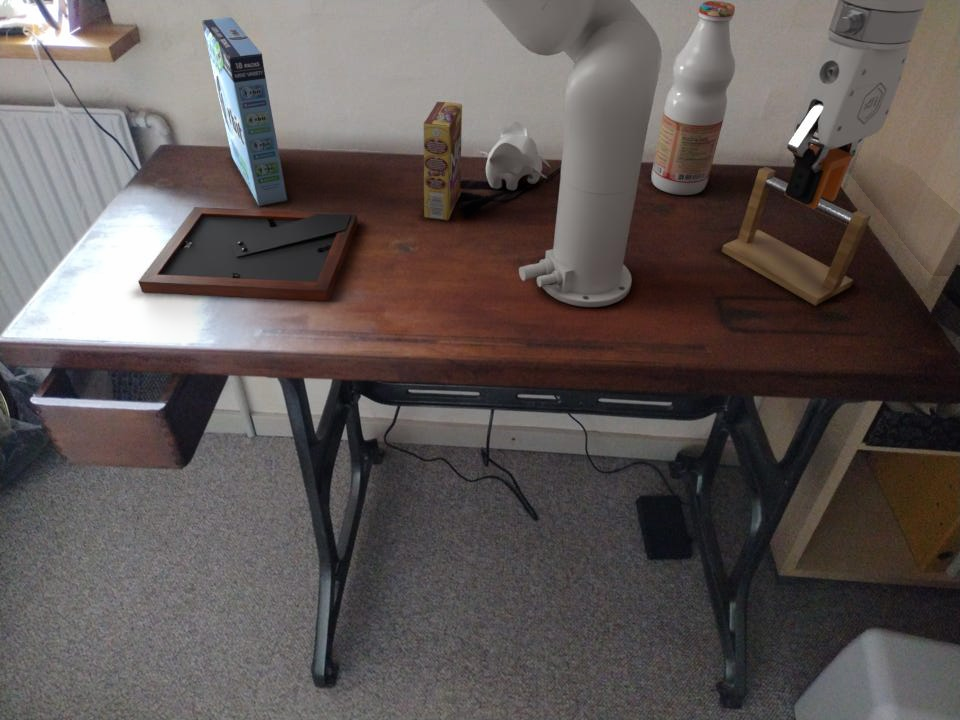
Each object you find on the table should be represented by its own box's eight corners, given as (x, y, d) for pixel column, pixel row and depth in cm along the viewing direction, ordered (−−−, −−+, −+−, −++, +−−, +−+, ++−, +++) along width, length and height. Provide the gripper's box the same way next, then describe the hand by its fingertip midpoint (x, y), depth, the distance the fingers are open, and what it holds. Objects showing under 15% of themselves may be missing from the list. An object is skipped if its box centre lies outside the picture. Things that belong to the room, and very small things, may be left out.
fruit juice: (639, 182, 117) (671, 3, 99) (670, 166, 122) (707, -8, 104) (685, 202, 112) (729, 17, 94) (716, 184, 117) (764, 5, 99)
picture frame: (357, 224, 105) (197, 217, 106) (356, 212, 104) (194, 205, 105) (328, 301, 90) (142, 292, 91) (326, 288, 89) (137, 279, 90)
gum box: (232, 158, 122) (199, 19, 106) (261, 153, 123) (232, 16, 108) (258, 207, 109) (225, 57, 94) (290, 201, 110) (262, 52, 95)
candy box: (451, 222, 106) (449, 125, 96) (424, 218, 107) (420, 123, 97) (462, 195, 113) (462, 102, 103) (437, 192, 113) (434, 100, 103)
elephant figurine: (544, 200, 112) (549, 148, 106) (472, 192, 114) (473, 140, 108) (552, 174, 119) (556, 124, 113) (484, 167, 121) (485, 117, 115)
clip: (813, 209, 77) (830, 162, 73) (784, 194, 79) (799, 149, 76) (835, 200, 79) (853, 154, 75) (805, 186, 81) (821, 141, 77)
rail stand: (815, 306, 91) (849, 225, 83) (721, 251, 101) (743, 174, 93) (850, 287, 95) (886, 207, 87) (756, 236, 105) (780, 160, 96)
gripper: (856, 46, 61) (791, 228, 73) (957, 19, 68) (883, 189, 80) (786, 25, 65) (736, 199, 77) (887, 2, 73) (827, 164, 85)
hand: (811, 192), depth 79 cm, fingers closed on clip, 4 cm apart
